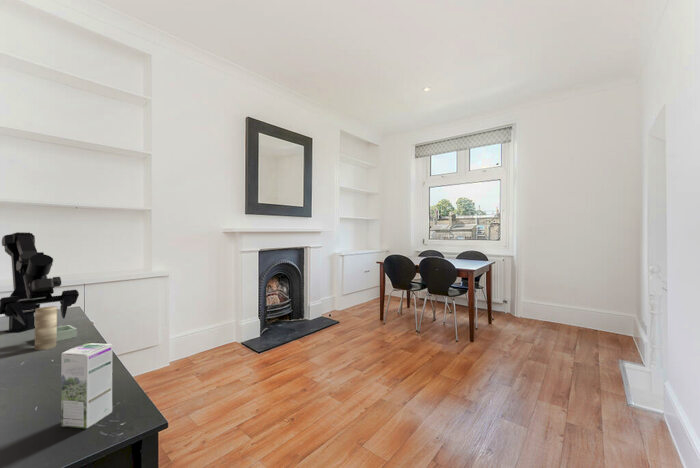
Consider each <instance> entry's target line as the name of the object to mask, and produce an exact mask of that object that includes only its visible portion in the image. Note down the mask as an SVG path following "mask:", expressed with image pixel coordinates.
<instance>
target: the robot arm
mask: <svg viewBox="0 0 700 468" xmlns="http://www.w3.org/2000/svg"><path fill="white" fill-rule="evenodd" d="M1 246H2V247H4V248H3V249H4V252H5V253H6V254H7V255H9V256H10V258H11V270H12V272H11V273H12V282H13V283H12V284H13V291H12V292H11V294H10V295H9V296H5V297H4V296H3V297H1V298H0V315H4V317H6V318H8V329H5V330H3V331H4V332H5V333H9V332H10V333H12V332H13V333H15V332H16V333H17V332H19V333H20V332H24V331H30V330H31V329H35V309H37V308H41V305H42V304H50V303H58V302H59V303H60V307H59V308H60V312H61V313H60V314H61V318H62V319H65V318H66V314H67V311H68V308H69V307H71V306H72V305H75V304H76V303H77V301H78V298H79V295H80V293H79V291H78V289H67V290H63V291H62V292H61V294H60V295H54V289H55V288H56V287H58V288H59V287H61V286H62V279H61V277H60V276H53V277H52V278H51V277H50V278H48V275H49V274H50V272H51V269H52V266H53V263H54V258H53V257H52V256H51V255H48V254H44V251H41V252H40V251H39V252H38V250H37V248H36V237H35V235H34V234H33V233H31V232H13V233H11V234H6V235H4V236H2V239H1ZM52 294H53V295H52Z"/></svg>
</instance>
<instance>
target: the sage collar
mask: <svg viewBox="0 0 700 468" xmlns="http://www.w3.org/2000/svg"><path fill="white" fill-rule="evenodd" d="M73 337H74V338H78V328H76V327H75V326H72V325H70V324H67V325H60V326H57V339H56V342H58V341H65V340H68V339H73Z"/></svg>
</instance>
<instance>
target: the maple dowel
mask: <svg viewBox="0 0 700 468" xmlns="http://www.w3.org/2000/svg"><path fill="white" fill-rule="evenodd" d="M34 317H35V325H34V326H35V328H34V350H35V351H43V350H48V349H52V348H55V347H56V346H57V341H56V339H57V327H58V325H57V324H58V323H57V322H58V306H56V305H54V306H53V305H52V306H50V305H49V306H43V307H40V308H37V309H35V313H34Z"/></svg>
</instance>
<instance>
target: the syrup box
mask: <svg viewBox="0 0 700 468" xmlns="http://www.w3.org/2000/svg"><path fill="white" fill-rule="evenodd" d="M60 363H61V369H60V370H61V375H60V378H61V381H60V382H61V385H60V386H61V388H60V389H61V390H60V394H61V396H60V397H61V398H60V399H61V401H60V402H61V403H60V413H61V414H60V417H61V418H60V426H61V427H63V428H74V429H75V428H76V429H88V428H90V427H92V426H94V425H95V424H97V423H98V422H99V421H101V420H102V419H103V420H104V419H105V418H106V417H107V416H109V415H110V414H111V413H113V344H112V343H97V342H93V343H92V342H90V343H89V342H88V343H83V344H80V345H77V346H75V347H72V348H70V349H67V350H66V351H64V352H61V362H60Z"/></svg>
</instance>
